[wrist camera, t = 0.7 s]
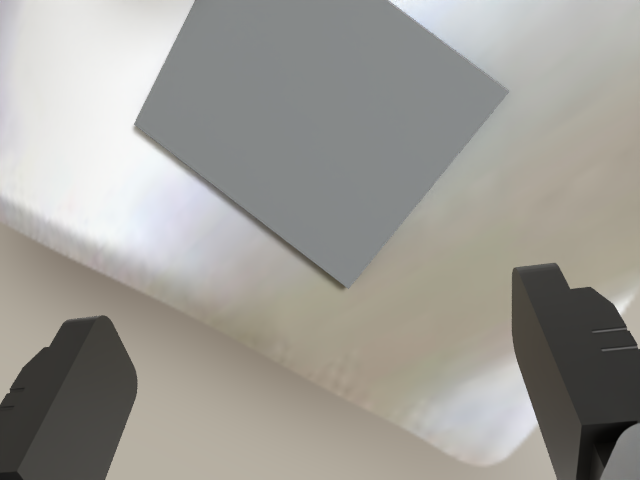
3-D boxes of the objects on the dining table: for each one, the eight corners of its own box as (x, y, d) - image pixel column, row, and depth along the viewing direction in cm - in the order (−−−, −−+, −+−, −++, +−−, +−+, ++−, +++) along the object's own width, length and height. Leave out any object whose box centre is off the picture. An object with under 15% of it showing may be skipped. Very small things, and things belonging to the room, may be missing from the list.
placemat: (140, 122, 33) (133, 124, 33) (251, -102, 27) (246, -105, 27) (350, 284, 33) (348, 288, 32) (508, 90, 27) (508, 91, 27)
